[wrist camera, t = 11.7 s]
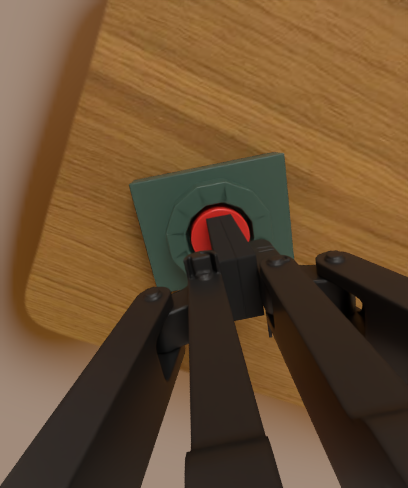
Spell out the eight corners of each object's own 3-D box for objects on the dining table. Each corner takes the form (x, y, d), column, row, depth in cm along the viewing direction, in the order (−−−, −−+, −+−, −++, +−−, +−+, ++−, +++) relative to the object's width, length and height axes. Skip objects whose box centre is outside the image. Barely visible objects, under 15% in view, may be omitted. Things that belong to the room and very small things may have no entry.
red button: (196, 259, 20) (197, 270, 18) (185, 209, 19) (185, 215, 17) (248, 249, 20) (253, 259, 18) (240, 198, 19) (245, 203, 17)
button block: (161, 281, 23) (156, 307, 19) (134, 179, 21) (122, 188, 17) (285, 256, 23) (304, 278, 19) (274, 151, 20) (294, 153, 17)
